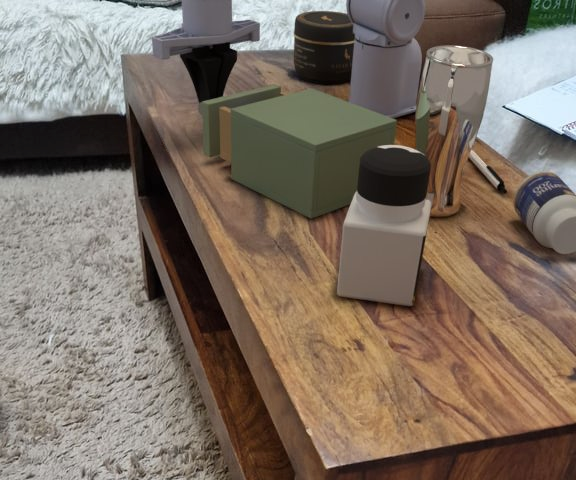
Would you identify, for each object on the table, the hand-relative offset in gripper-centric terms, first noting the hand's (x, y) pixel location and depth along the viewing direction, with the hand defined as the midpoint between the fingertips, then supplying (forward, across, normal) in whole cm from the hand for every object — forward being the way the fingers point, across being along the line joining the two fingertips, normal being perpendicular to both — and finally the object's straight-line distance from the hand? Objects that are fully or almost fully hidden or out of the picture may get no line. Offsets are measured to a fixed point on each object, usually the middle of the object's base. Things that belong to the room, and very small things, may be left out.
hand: (210, 114), depth 96 cm
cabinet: (+3, 0, +18) cm, 18 cm away
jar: (+3, -31, -11) cm, 33 cm away
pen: (+3, -21, +26) cm, 34 cm away
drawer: (+2, 0, +10) cm, 10 cm away
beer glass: (+3, -7, +31) cm, 32 cm away
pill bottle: (0, -13, +40) cm, 42 cm away
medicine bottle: (+3, +11, +39) cm, 41 cm away
